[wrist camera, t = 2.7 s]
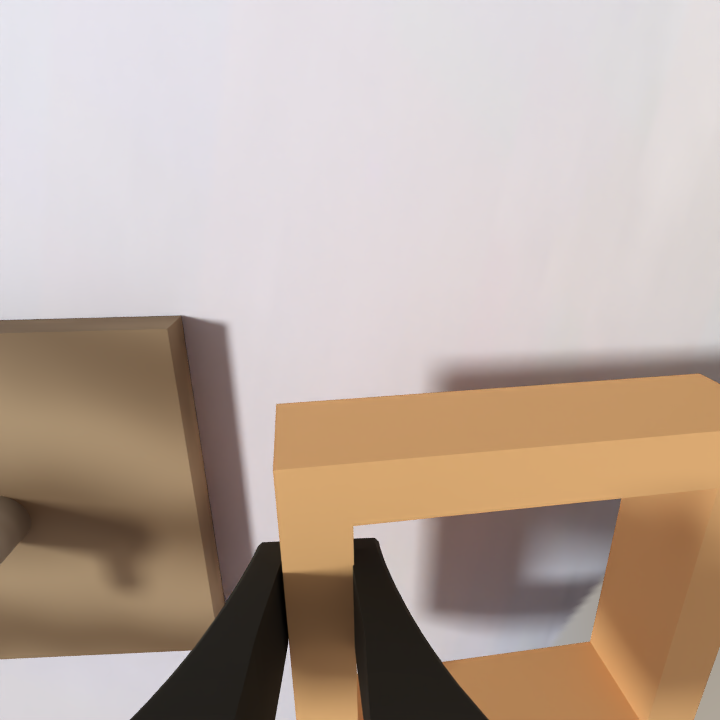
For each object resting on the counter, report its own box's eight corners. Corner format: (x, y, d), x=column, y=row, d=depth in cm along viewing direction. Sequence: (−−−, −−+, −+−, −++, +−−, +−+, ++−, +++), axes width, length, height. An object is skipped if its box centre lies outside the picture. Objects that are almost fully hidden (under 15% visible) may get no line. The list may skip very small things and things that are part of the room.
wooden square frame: (623, 666, 19) (681, 754, 16) (302, 713, 17) (305, 818, 14) (699, 373, 14) (798, 424, 11) (276, 404, 13) (273, 470, 10)
